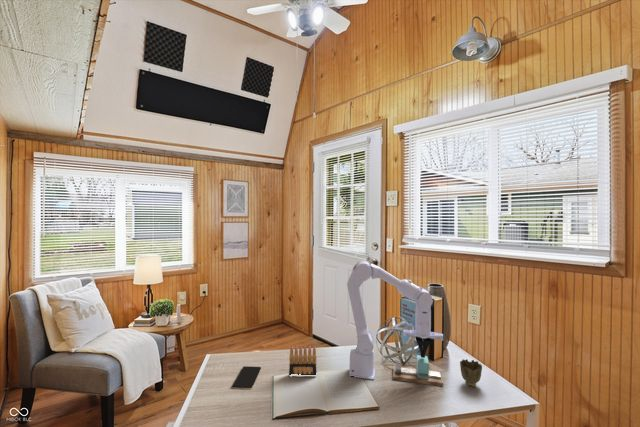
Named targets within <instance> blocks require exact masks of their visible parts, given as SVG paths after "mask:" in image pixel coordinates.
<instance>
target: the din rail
mask: <svg viewBox="0 0 640 427" xmlns="http://www.w3.org/2000/svg"><path fill="white" fill-rule="evenodd" d="M395 365H396V367H395V373H396V374H400V375H401V374H407V375H414V376H418V374H417V369H410V368H402V367H401V366H402V363H395ZM440 372H441V371H440ZM440 372H434V371H429V377H430V378H437V379H441V376H442V374H441V375H440Z"/></svg>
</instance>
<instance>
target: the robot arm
mask: <svg viewBox="0 0 640 427" xmlns="http://www.w3.org/2000/svg"><path fill="white" fill-rule="evenodd" d="M369 279H372V280H374V279H380V280H382V281H384V282H386V283H387V284H389V285H391V286H394V287H396V289H397V292H398V293H399V294H401V295H402V296H404V297H406V298H408V299H409V300H411V301H415V310H414V312H415V316H414V318H415V319H414V320H415V321H414V322H415V324H414V328H415V329H410V330H408V329H403V335H402V336H403V337H405V338H406V337H407V338H408V337H410V338H415V342H416V344H417V347H418V349H419V352H420V353H419V354H420V355H421V357H422V358H425V356H426V353H427V350H428V348H429V346H430V344H431V340H438V341H442V342H443V341H444V334H443V333H440V332H434V331H431V329H432V309H431V308H432V305H433V303H434V300H433V297H432V295H431V294H430V293H429V291H428V290H426V289H425V288H424V287H422V286H418V285H416V284H414V283H413V282H412V280H411V279H410V278H408V279H405V278H403V279H399V278H398V277H396V276H394V275H392V274H391V273H389V271H386V270H385V269H383V268H382V267H380V266H378V265H376V264H374V263H372V262H371V263H370V262H368V261H367V260H364V259H362V260H358V262H357V263H356V264H355V265H354V266H353V267H352V270H351V273H350V275H349V278H348V281H347V283H346V287H347V292H348V296H349V301H350V305H351V310H352V315H353V320H354V325H355V330H356V347H355V348H352V349H350V352H349V374H348V376H349V377H351V376H354V377H353V378H360V379H365V380H366V379H367V380H374V379H375V377H376V376H375V374H376V368H375V349H374V344H373V334H372V333H371V332H370V331H369V326H368V324H367V323H368V322H367V319H366V312H365V309H364V304H363V299H362V295H361V290H360V287H361V286H362V285H363V283H364V282H366V281H367V280H369Z"/></svg>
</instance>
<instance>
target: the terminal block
mask: <svg viewBox="0 0 640 427" xmlns="http://www.w3.org/2000/svg"><path fill="white" fill-rule="evenodd" d="M416 368H417V374H418V378H423V379H429V370H430V363H429V357H428V356H427V355H425V358H422V357H421V354H420V355H419V354H418V355H417V354H416Z"/></svg>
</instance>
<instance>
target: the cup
mask: <svg viewBox="0 0 640 427" xmlns="http://www.w3.org/2000/svg"><path fill="white" fill-rule="evenodd" d="M459 364H460V365H459V366H460V367H459V368H460V373H461V376H462V379H464V382H465V385H466V386H467V387H470V388H475V387H476V386H477V384H478V383H479V381H480V380H481V377H482V373H483V372H482V370H483V365H482V364H481V363H479V362H478V361H475V360H474V359H472V360H471V361H469V360H468V359H462V360H460V361H459Z"/></svg>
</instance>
